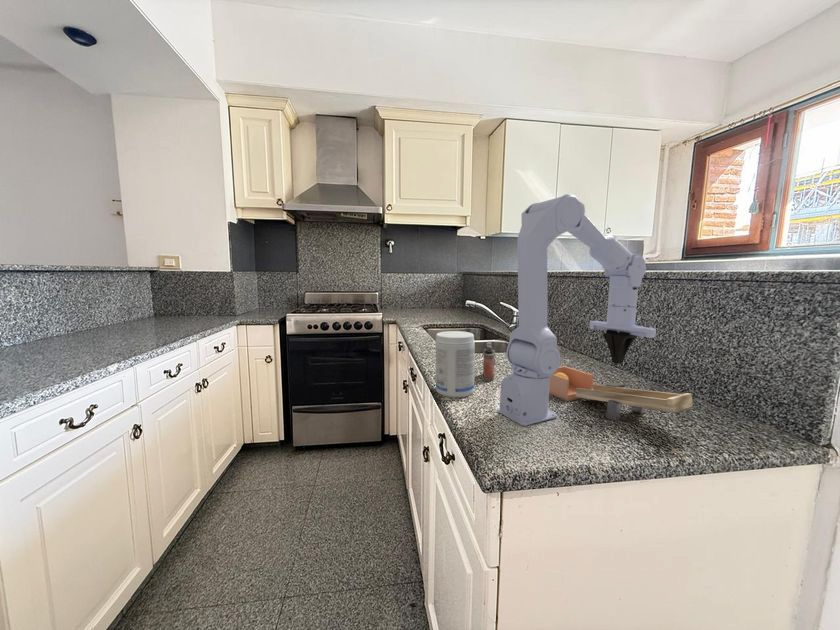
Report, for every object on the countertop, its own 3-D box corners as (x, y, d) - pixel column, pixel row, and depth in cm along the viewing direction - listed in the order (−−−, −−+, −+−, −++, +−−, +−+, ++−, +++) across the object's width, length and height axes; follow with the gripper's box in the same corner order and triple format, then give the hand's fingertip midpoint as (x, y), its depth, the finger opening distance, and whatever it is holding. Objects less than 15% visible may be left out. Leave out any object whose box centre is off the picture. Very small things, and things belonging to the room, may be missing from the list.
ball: (562, 389, 79) (559, 373, 79) (549, 389, 83) (547, 373, 83) (573, 387, 81) (571, 371, 81) (560, 387, 84) (558, 371, 85)
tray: (568, 401, 74) (569, 380, 74) (537, 389, 83) (538, 370, 82) (594, 395, 78) (596, 375, 78) (563, 384, 87) (564, 366, 86)
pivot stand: (616, 421, 64) (617, 404, 64) (606, 417, 66) (607, 400, 66) (644, 412, 68) (646, 396, 68) (634, 409, 70) (636, 393, 70)
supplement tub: (474, 386, 84) (475, 331, 82) (473, 400, 75) (475, 338, 73) (437, 384, 86) (438, 330, 84) (432, 397, 77) (433, 336, 75)
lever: (673, 412, 56) (672, 399, 57) (575, 396, 74) (574, 386, 75) (711, 400, 62) (710, 388, 62) (611, 388, 80) (610, 379, 80)
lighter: (494, 382, 88) (496, 346, 87) (482, 381, 89) (483, 345, 88) (494, 373, 96) (495, 340, 95) (482, 372, 97) (483, 340, 95)
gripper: (666, 308, 71) (660, 368, 72) (603, 303, 84) (599, 354, 85) (647, 309, 68) (641, 372, 69) (585, 304, 81) (581, 357, 82)
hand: (617, 362), depth 77 cm, fingers closed
